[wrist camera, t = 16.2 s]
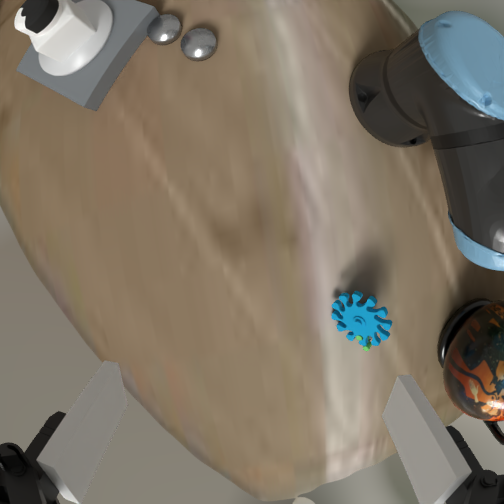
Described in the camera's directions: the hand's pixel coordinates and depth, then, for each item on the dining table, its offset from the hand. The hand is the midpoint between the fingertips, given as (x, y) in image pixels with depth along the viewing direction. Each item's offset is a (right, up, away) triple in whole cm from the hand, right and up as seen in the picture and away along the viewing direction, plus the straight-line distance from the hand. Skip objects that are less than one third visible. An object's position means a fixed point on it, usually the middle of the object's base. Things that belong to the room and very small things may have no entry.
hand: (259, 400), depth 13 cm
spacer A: (-8, +36, +24) cm, 44 cm away
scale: (-28, +41, +23) cm, 54 cm away
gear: (+16, -3, +34) cm, 37 cm away
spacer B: (-13, +40, +23) cm, 48 cm away
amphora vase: (+42, -10, +35) cm, 56 cm away
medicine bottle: (-28, +40, +18) cm, 51 cm away
